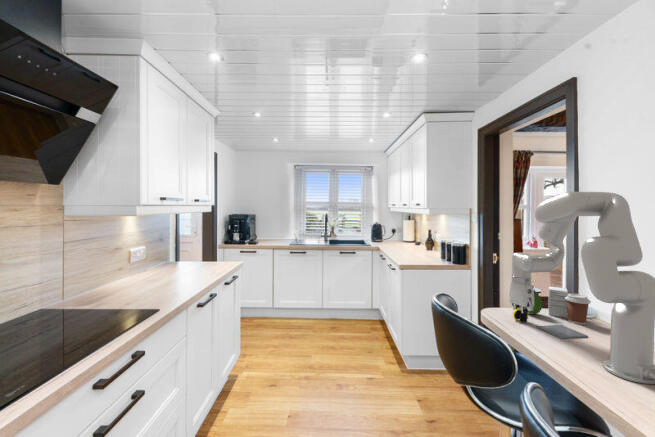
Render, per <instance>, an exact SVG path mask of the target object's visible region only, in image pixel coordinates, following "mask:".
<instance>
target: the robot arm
mask: <svg viewBox="0 0 655 437" xmlns="http://www.w3.org/2000/svg"><path fill="white" fill-rule="evenodd" d="M534 217H535V219H536V221H538V223H541V224H542V226H541V227H540V230H539V231H538V236H539V238H540V239H541V240H542V241H544V242H545V243H548V244H549V245H550V246H549V249H548V251H547V252H546V253H545V254H531V253H528V252H514V253H513V254H512V255H511V257H512V258H511V282H510V289H509V303H510V304H511V305H512V309H513V311H514V310H515V309H517V308H518V307H520V308H521V310H518V311H516V312H515V318H516V319H517V320H520V321H519V322H520V323H526V322H528V319H527V313H528V314H529V311H532V310H533V307H534V290H535V289H534V285H533V284H532V282H533V281H532V273H533V274H534V273H537V274H538V273H551V272H554V271H556V270H557V269H558V268H559V267H560V265H561V263H562V262H563V261H564V258H565V253H566V252H565V251H566V249H565V245H564V242H563V241H564V239H565V237H566V236H567V235H568V233H569V231H570V229H571V228H572V226H573V225H574V223H575V221H576V219H577V217H599V219H598V221H597V230H598V233H599V236H592V237H589V238H587V239H586V240H585V241H584V242H583V244H582V245H581V250H580V255H581V261H582V265H583V269H584V273H585V275H586V280H587V284H588V287H589V289H590V292H591V294H592V295H593V297H595V298H596V299H597V300H598V301H600V302H603V303H605V304H613V306H612V310H611V315H610V316H611V318H610V341H609V342H610V344H609V359H608V360H605V361H603V363H602V365H603V366H602V367H603V369H605V370H606V371H607V372H608V373H610V374H612V375H614V376H617V377H618V378H621V379H625V380H627V381H631V382H636V383H639V384H648V385H655V364H654V358H655V357H654V355H655V353H654V352H655V277H654V276H652V275H651V274H650V273H647V272H644V271H640V270H619V269H618V267H619V268H620V267H632V266H633V267H634V266H636V265H638V264H640V263H641V262H642V260H643V251H642V247H641V244H640V241H639V238H638V233H637V230H636V227H635V226H634V224H633V219H632V215H631V208H630V205H629V202H628V201H627V199H626V198H625V197H623V195H622V194H618V193H615V192H614V193H613V192H609V191H608V192H607V191H567V192H564V193H561V194H559V195H557V196H554V197H550V198H548V199H546V200H543V201H541V202H540V203H539V204H538V205H537V207H536V208H535V211H534ZM524 308H525V309H524Z"/></svg>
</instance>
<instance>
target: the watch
mask: <svg viewBox="0 0 655 437" xmlns="http://www.w3.org/2000/svg"><path fill="white" fill-rule="evenodd" d="M518 310H521V308H520V307H518V308H517V309H515V310H513V312H512V317H513V319H514V320H515V321H517V322H520V319H516V318H515V312H516V311H518ZM528 319H529V313H527V320H528Z"/></svg>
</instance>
